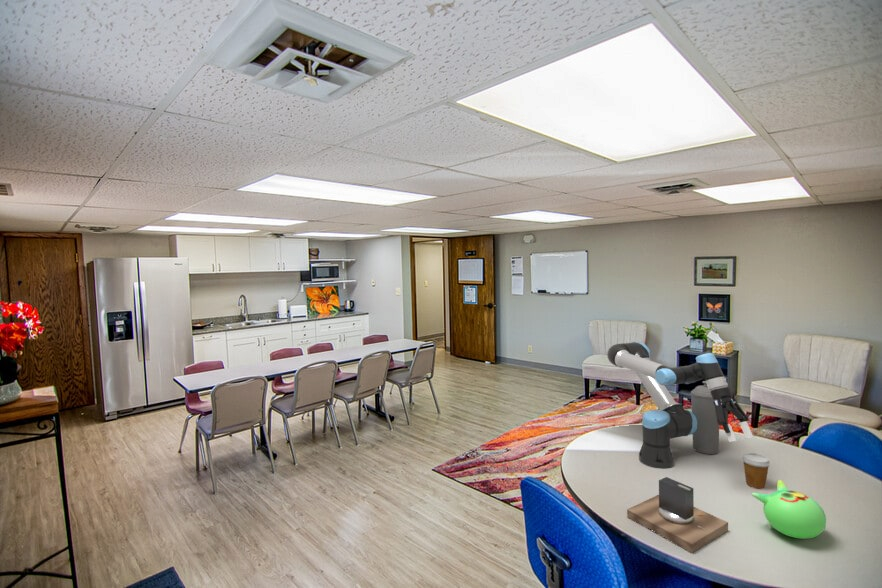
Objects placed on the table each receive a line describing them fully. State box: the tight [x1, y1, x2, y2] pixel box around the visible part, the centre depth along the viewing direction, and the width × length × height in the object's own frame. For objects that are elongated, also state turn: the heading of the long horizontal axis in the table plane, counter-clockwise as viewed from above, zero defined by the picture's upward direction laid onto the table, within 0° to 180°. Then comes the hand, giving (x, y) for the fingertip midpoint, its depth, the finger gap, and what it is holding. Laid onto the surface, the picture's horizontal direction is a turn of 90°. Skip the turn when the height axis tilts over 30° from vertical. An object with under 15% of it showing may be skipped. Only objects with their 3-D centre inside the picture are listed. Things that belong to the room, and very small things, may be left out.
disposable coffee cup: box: [741, 452, 771, 490], centre depth 178 cm, size 10×10×12 cm
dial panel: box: [626, 494, 729, 554], centre depth 153 cm, size 24×22×3 cm
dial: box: [658, 476, 695, 524], centre depth 153 cm, size 11×11×12 cm
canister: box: [690, 380, 720, 455], centre depth 212 cm, size 13×13×35 cm
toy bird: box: [751, 479, 827, 540], centre depth 146 cm, size 18×17×15 cm
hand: (741, 439), depth 175 cm, fingers open, 13 cm apart
